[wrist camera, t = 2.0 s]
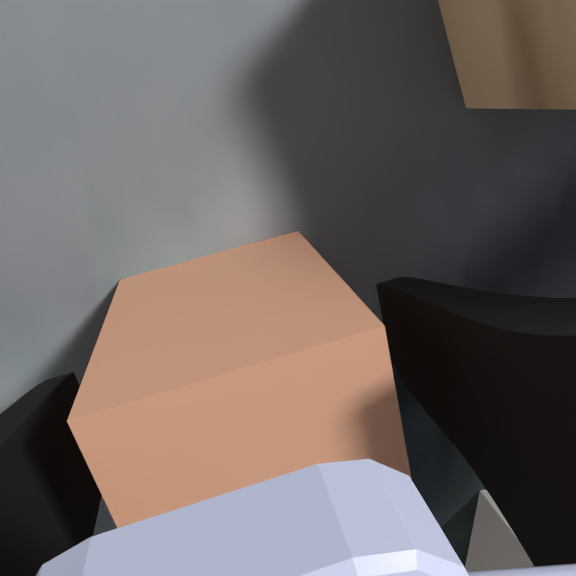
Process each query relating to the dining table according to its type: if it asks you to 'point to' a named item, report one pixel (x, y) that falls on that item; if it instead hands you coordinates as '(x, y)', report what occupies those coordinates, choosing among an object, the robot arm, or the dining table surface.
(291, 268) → the terracotta block
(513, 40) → the oak cube
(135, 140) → the dining table surface
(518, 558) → the off-white cube
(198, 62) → the dining table surface
